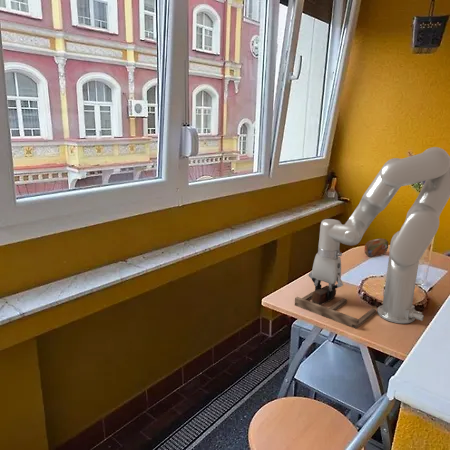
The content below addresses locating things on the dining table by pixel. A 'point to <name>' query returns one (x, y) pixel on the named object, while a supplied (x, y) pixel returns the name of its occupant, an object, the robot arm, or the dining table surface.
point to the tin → (376, 247)
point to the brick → (321, 295)
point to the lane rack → (332, 311)
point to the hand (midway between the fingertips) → (323, 296)
